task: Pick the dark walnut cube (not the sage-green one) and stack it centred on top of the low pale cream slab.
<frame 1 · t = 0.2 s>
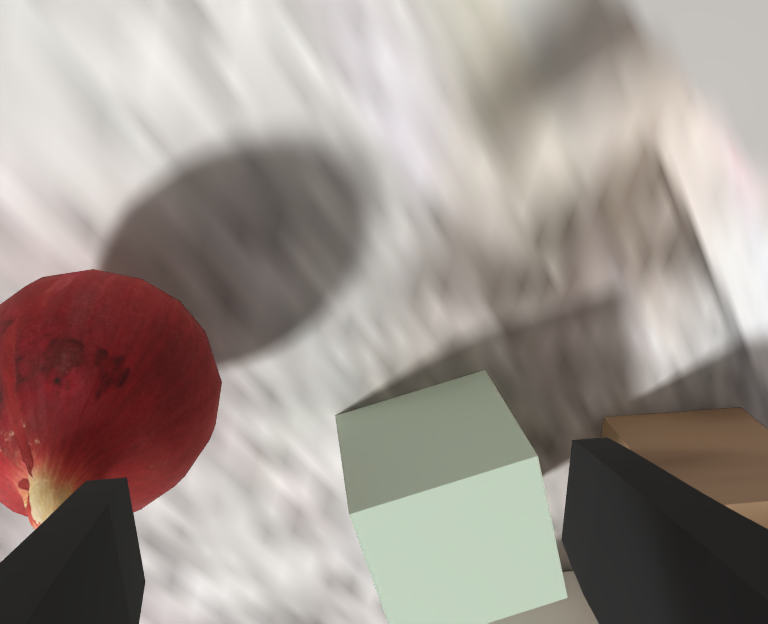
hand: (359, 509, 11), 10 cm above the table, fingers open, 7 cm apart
walnut cube: (660, 472, 25), on the table
onion: (128, 329, 20), on the table
sage cube: (428, 454, 23), on the table
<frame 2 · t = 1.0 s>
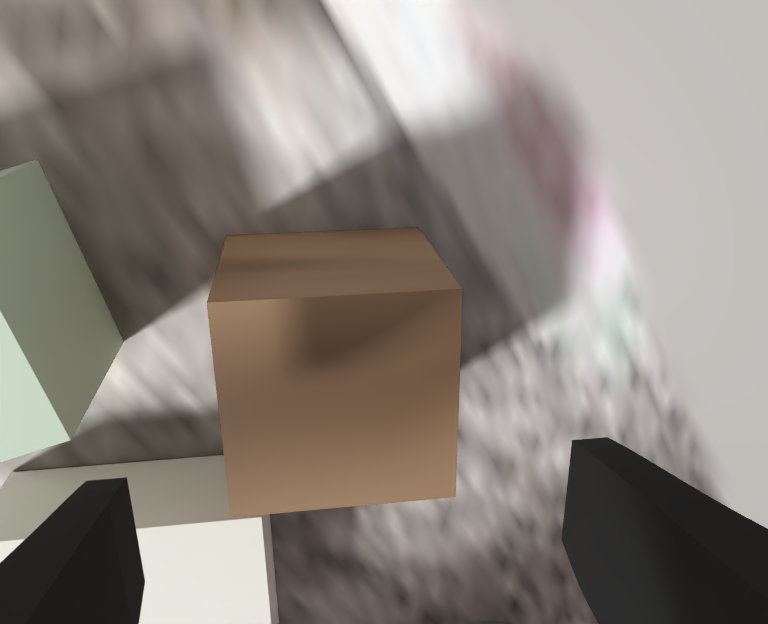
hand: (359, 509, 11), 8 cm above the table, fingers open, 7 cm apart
walnut cube: (327, 318, 19), on the table
cream slab: (156, 559, 21), on the table
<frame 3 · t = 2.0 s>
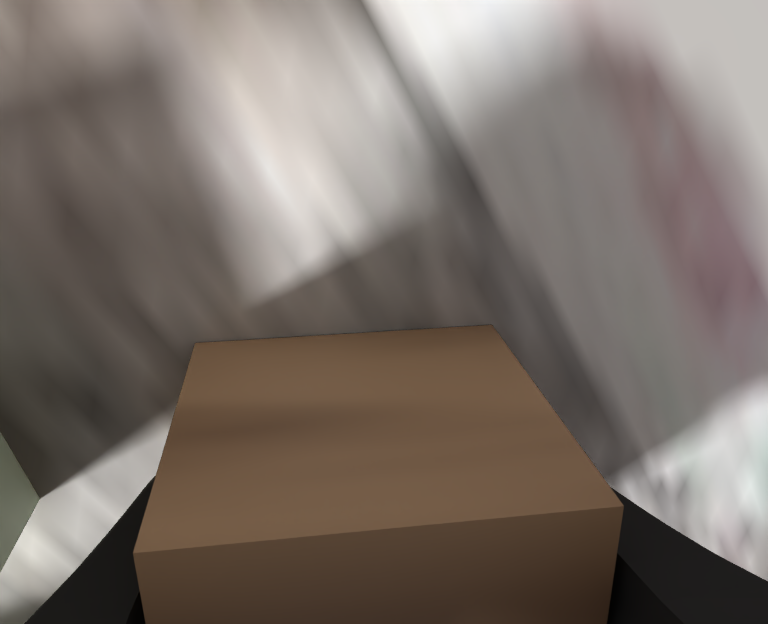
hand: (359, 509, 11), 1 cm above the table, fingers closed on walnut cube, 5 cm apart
walnut cube: (351, 460, 12), on the table, touching gripper
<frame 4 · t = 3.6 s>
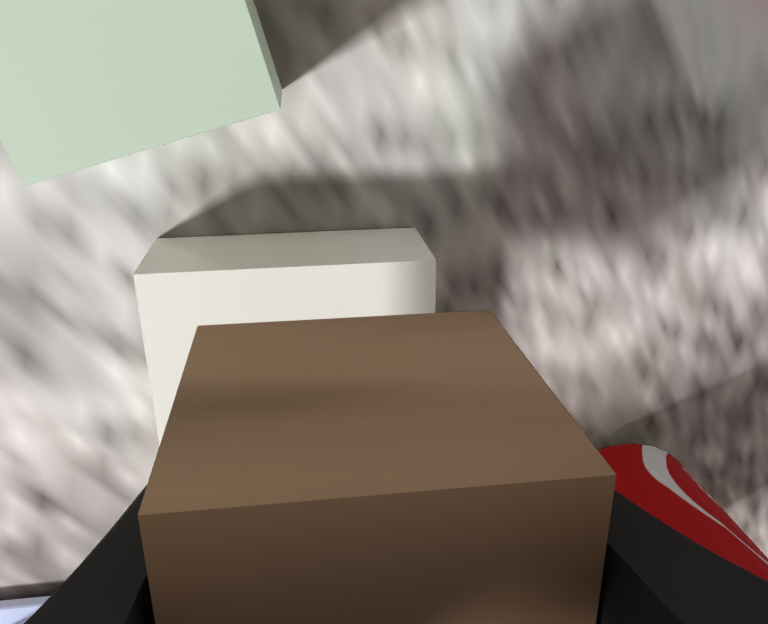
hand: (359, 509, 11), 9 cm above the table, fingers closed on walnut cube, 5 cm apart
walnut cube: (350, 443, 13), point 8 cm above the table, touching gripper
soda can: (606, 500, 24), on the table
sage cube: (148, 14, 16), on the table
cream slab: (295, 349, 20), on the table
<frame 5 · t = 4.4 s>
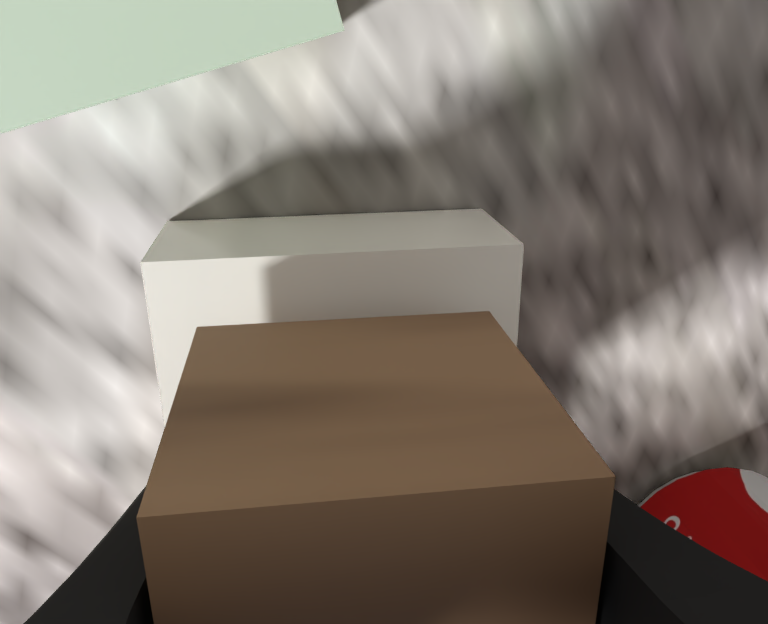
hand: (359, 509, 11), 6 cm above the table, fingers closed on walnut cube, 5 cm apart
walnut cube: (350, 444, 13), point 4 cm above the table, touching gripper
soda can: (690, 532, 21), on the table
cream slab: (334, 357, 17), on the table
when the fingers open (5 cm above the table, at t = 5.0 s): walnut cube stays where it is, resting on cream slab.
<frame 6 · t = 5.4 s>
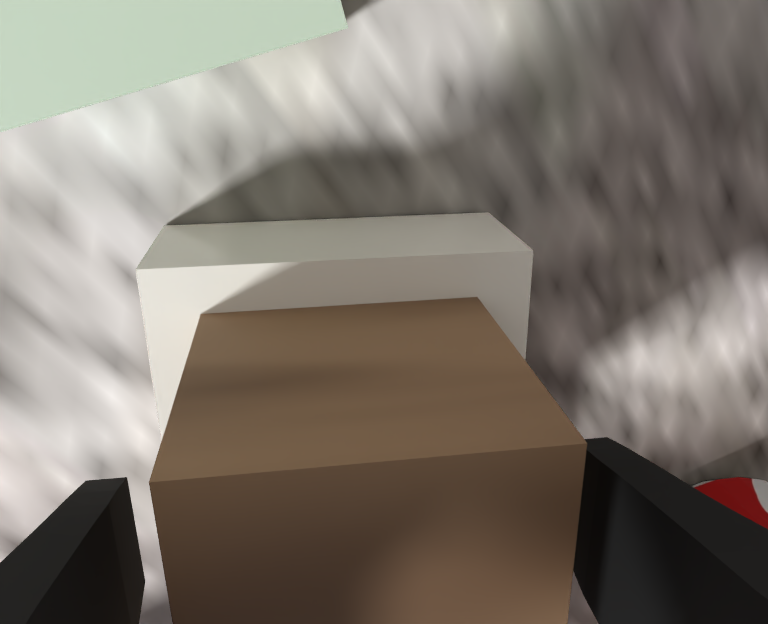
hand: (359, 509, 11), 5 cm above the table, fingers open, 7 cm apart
walnut cube: (347, 425, 13), point 3 cm above the table, touching cream slab
soda can: (699, 543, 20), on the table
cream slab: (336, 364, 16), on the table
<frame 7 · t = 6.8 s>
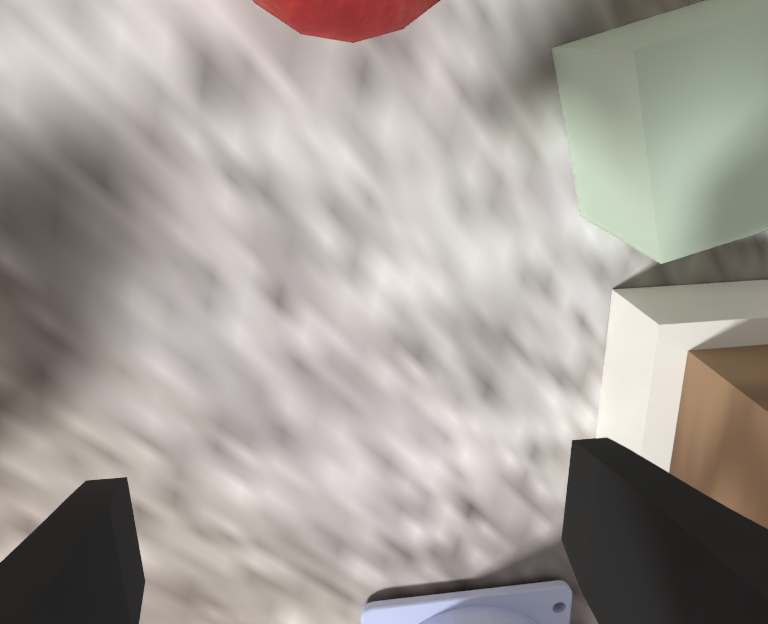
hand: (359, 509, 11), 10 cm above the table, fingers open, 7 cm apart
walnut cube: (753, 419, 21), point 3 cm above the table, touching cream slab
sage cube: (646, 110, 20), on the table
cream slab: (698, 378, 24), on the table
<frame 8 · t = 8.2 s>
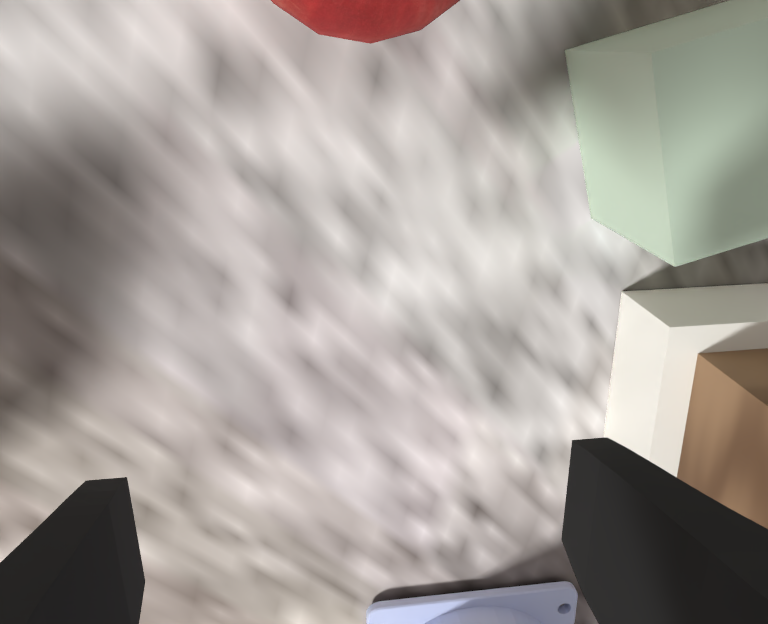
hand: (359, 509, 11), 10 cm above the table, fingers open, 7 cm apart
walnut cube: (761, 421, 21), point 3 cm above the table, touching cream slab
sage cube: (658, 113, 20), on the table
cream slab: (705, 381, 24), on the table
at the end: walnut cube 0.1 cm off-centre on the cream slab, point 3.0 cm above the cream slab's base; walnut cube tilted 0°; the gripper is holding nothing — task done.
